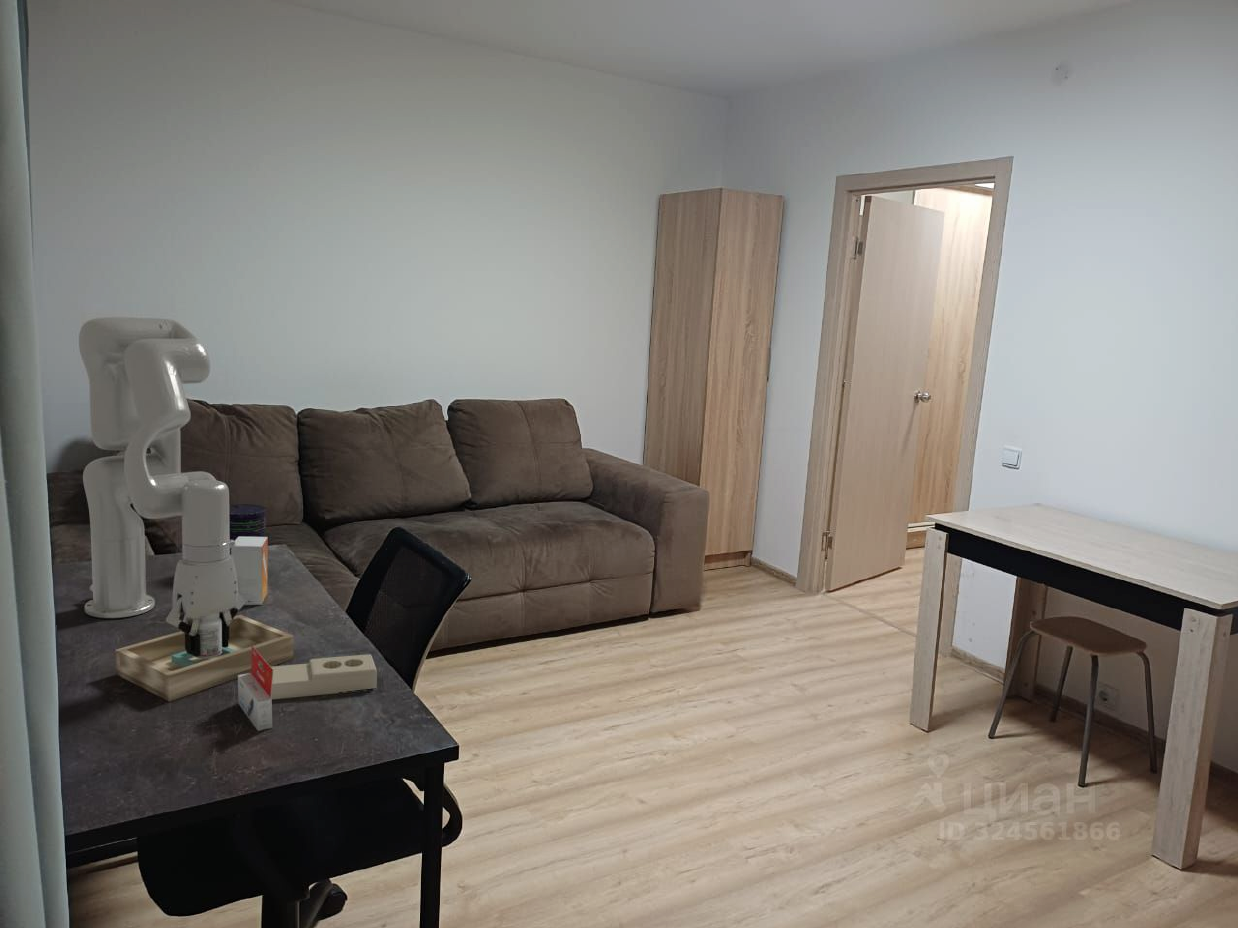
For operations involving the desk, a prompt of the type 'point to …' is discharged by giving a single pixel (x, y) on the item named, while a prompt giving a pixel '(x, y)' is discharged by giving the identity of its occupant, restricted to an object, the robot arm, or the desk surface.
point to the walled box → (172, 681)
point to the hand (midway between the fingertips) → (207, 648)
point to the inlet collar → (184, 657)
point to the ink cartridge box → (257, 692)
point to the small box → (251, 568)
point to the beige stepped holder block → (324, 676)
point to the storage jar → (246, 521)
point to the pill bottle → (210, 636)
